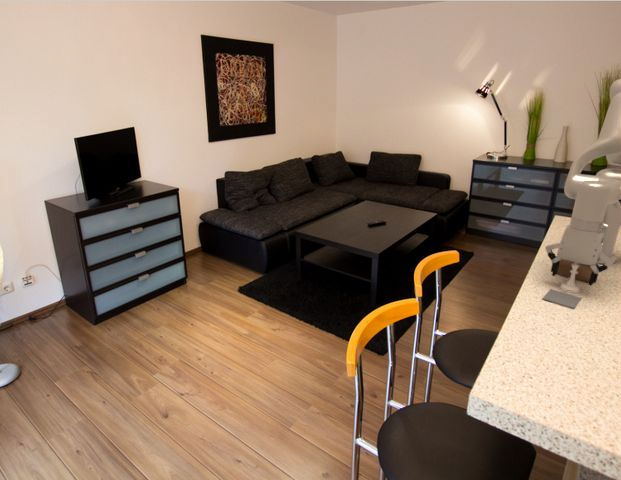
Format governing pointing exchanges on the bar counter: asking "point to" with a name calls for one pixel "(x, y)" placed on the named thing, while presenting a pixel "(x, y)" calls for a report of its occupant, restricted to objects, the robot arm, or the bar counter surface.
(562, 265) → the brown piece
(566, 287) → the chess piece
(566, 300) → the pad
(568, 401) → the bar counter surface
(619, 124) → the robot arm
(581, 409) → the bar counter surface
